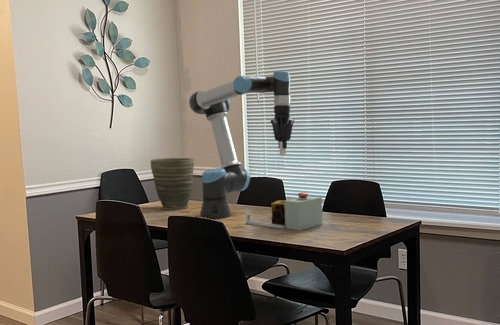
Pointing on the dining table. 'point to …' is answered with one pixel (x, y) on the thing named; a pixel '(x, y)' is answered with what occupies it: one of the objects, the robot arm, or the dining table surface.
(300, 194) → the plunger
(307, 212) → the gauge cabinet
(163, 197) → the vase
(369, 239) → the dining table surface
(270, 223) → the rail track
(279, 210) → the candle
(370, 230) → the dining table surface
